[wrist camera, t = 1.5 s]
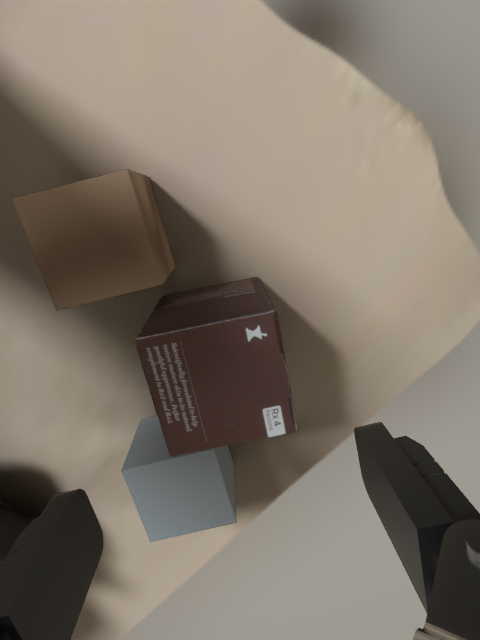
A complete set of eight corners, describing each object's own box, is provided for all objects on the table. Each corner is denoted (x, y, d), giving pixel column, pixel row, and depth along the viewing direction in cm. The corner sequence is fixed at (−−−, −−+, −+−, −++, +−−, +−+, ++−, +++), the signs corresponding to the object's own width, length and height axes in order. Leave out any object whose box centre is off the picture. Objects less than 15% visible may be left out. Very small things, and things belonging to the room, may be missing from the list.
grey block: (141, 419, 25) (121, 470, 20) (215, 401, 24) (213, 448, 20) (163, 480, 26) (150, 542, 21) (233, 463, 26) (236, 522, 21)
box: (159, 294, 22) (130, 335, 15) (260, 274, 22) (277, 306, 15) (183, 385, 24) (167, 460, 17) (276, 367, 24) (299, 435, 17)
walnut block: (60, 199, 20) (11, 198, 16) (149, 177, 20) (127, 168, 16) (92, 287, 22) (56, 310, 17) (176, 267, 22) (162, 284, 17)
